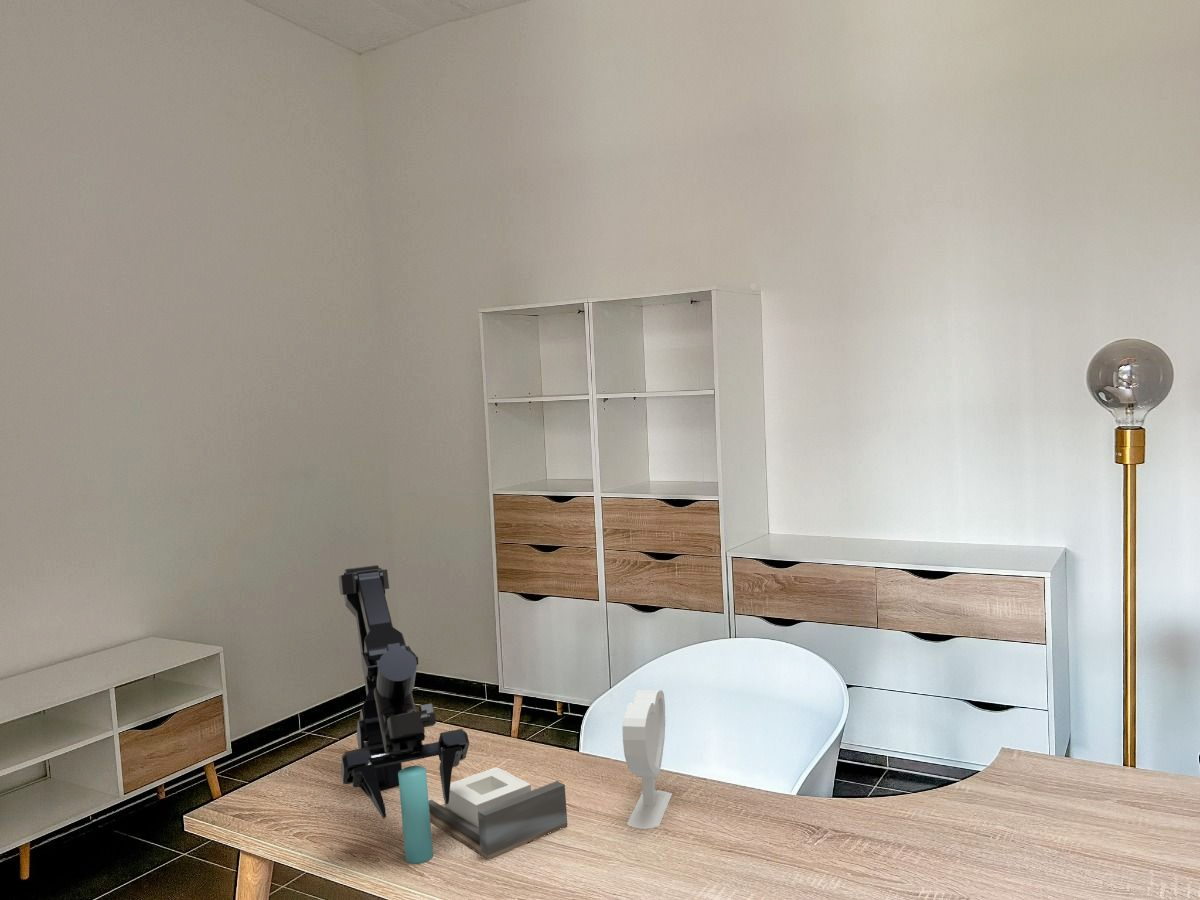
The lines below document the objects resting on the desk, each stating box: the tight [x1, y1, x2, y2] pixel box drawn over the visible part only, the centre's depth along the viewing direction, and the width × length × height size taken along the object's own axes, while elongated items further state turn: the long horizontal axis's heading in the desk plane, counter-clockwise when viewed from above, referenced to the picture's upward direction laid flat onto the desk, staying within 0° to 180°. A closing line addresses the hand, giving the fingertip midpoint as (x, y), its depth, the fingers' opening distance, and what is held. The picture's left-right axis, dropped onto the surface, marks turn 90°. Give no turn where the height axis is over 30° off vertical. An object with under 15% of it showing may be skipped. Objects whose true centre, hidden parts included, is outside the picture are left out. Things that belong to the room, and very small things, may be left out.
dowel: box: [398, 765, 434, 865], centre depth 141 cm, size 4×4×13 cm
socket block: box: [443, 766, 532, 829], centre depth 152 cm, size 10×10×5 cm
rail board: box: [428, 780, 568, 860], centre depth 151 cm, size 20×14×7 cm
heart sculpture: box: [621, 689, 673, 830], centre depth 152 cm, size 16×5×18 cm, turn 165°
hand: (416, 810), depth 140 cm, fingers open, 9 cm apart
